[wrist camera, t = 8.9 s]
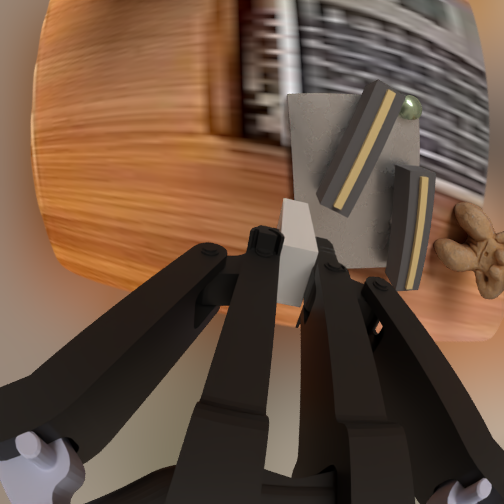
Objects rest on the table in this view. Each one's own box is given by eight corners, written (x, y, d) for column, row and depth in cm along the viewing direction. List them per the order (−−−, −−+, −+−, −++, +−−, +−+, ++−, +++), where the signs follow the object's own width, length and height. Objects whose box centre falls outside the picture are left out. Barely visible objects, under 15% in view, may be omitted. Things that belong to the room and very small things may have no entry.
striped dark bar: (314, 191, 30) (320, 205, 25) (363, 86, 24) (379, 78, 19) (338, 203, 31) (348, 219, 25) (387, 100, 24) (407, 96, 19)
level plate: (286, 91, 27) (286, 88, 25) (413, 98, 25) (421, 97, 23) (296, 265, 37) (296, 273, 35) (405, 262, 34) (410, 269, 32)
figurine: (455, 189, 29) (538, 238, 16) (479, 210, 31) (545, 254, 19) (425, 255, 33) (495, 320, 20) (452, 266, 36) (510, 320, 23)
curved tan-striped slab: (383, 268, 33) (396, 293, 28) (391, 163, 27) (412, 171, 22) (403, 267, 33) (419, 291, 28) (414, 164, 27) (438, 173, 22)
